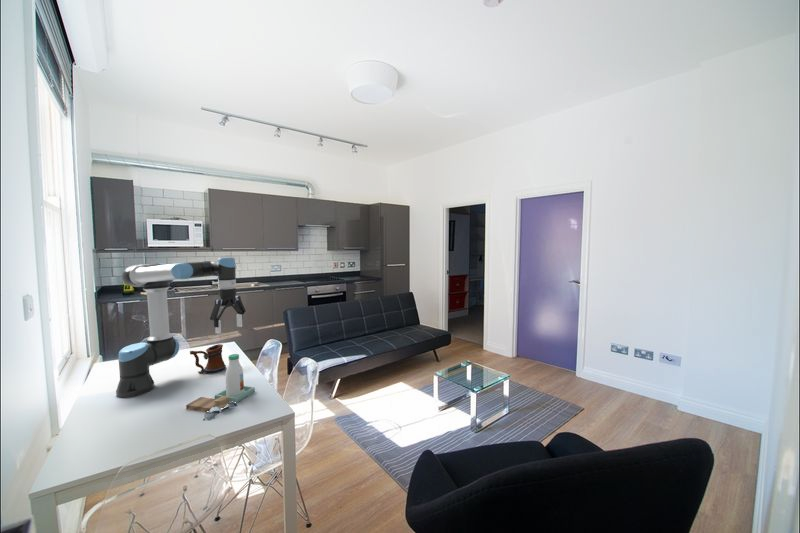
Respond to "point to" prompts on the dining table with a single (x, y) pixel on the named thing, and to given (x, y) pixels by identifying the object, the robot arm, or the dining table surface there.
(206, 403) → the tan wooden board
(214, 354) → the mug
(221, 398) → the block
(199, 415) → the dining table surface
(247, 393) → the tray
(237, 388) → the milk bottle
